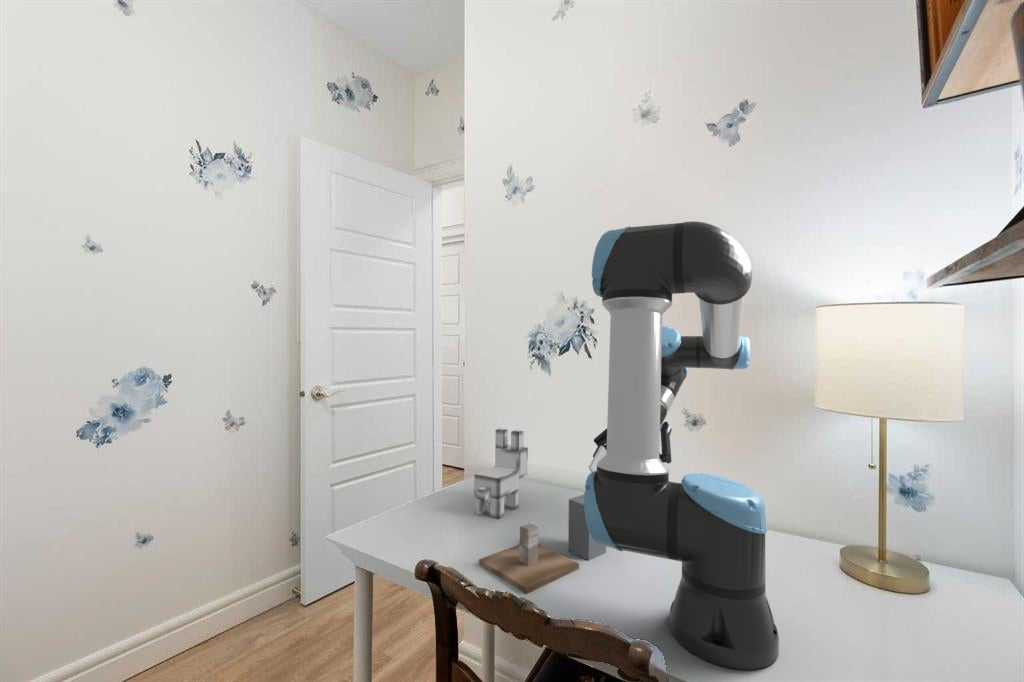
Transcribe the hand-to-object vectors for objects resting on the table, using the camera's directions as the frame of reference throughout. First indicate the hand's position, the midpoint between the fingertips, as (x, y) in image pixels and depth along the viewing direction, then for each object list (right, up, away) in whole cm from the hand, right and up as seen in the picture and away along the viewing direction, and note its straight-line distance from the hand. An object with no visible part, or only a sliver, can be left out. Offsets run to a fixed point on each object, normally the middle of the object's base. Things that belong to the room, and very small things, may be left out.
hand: (615, 478), depth 105 cm
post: (-20, -14, -13) cm, 28 cm away
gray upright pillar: (-7, -14, -7) cm, 17 cm away
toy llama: (-27, -14, +18) cm, 35 cm away
